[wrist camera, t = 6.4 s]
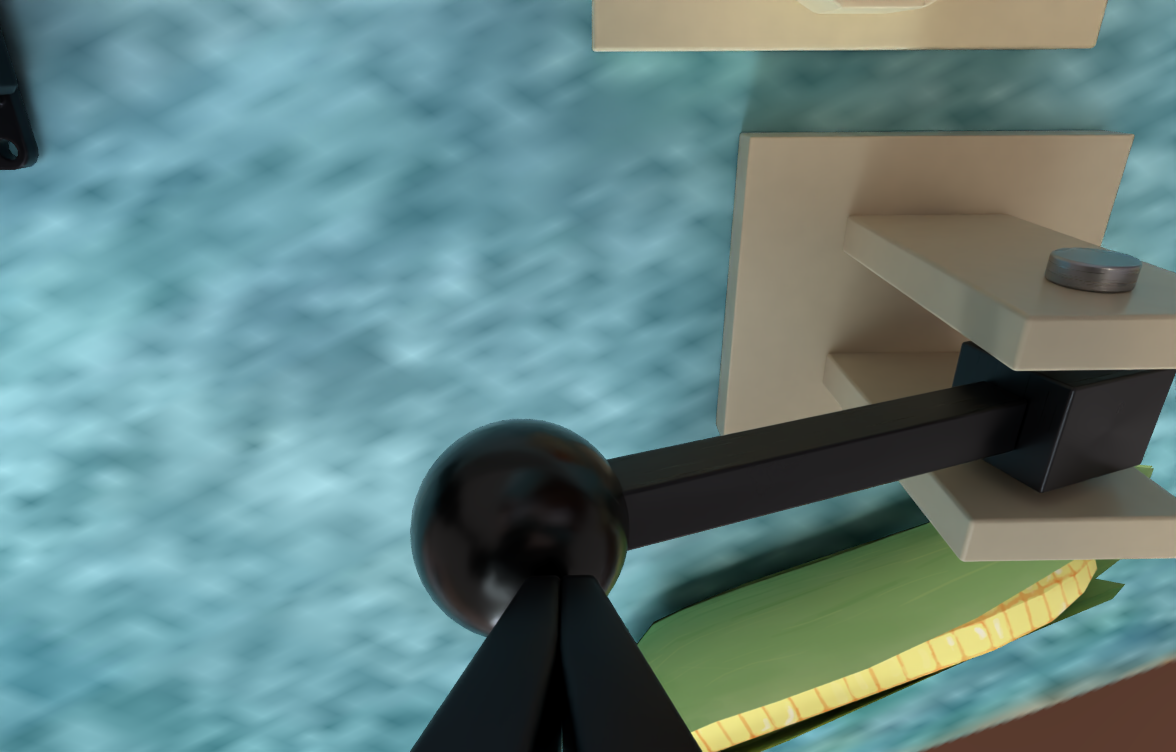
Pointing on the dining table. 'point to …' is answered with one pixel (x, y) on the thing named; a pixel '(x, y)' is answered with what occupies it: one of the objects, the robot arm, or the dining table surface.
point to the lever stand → (945, 307)
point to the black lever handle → (750, 473)
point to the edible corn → (851, 633)
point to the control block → (844, 25)
